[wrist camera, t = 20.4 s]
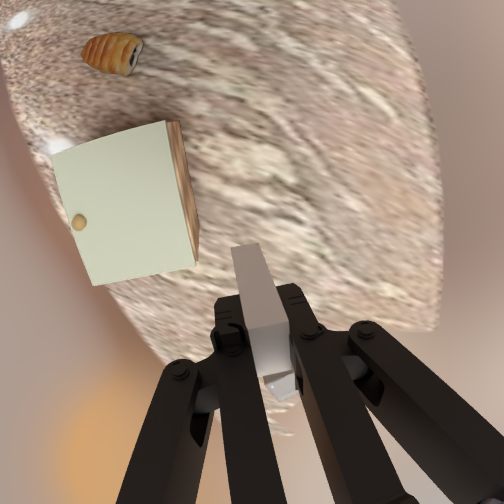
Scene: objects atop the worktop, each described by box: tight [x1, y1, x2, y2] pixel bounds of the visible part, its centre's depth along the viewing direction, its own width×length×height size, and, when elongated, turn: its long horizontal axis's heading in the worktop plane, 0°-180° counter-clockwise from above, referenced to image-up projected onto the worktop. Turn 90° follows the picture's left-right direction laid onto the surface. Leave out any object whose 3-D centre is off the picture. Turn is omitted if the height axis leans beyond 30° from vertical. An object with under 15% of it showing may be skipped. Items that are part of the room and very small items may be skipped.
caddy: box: [166, 121, 200, 261], centre depth 37 cm, size 17×14×12 cm
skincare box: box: [263, 366, 299, 402], centre depth 52 cm, size 8×7×16 cm
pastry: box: [81, 32, 143, 76], centre depth 30 cm, size 9×7×4 cm
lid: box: [51, 120, 196, 286], centre depth 31 cm, size 18×14×2 cm
